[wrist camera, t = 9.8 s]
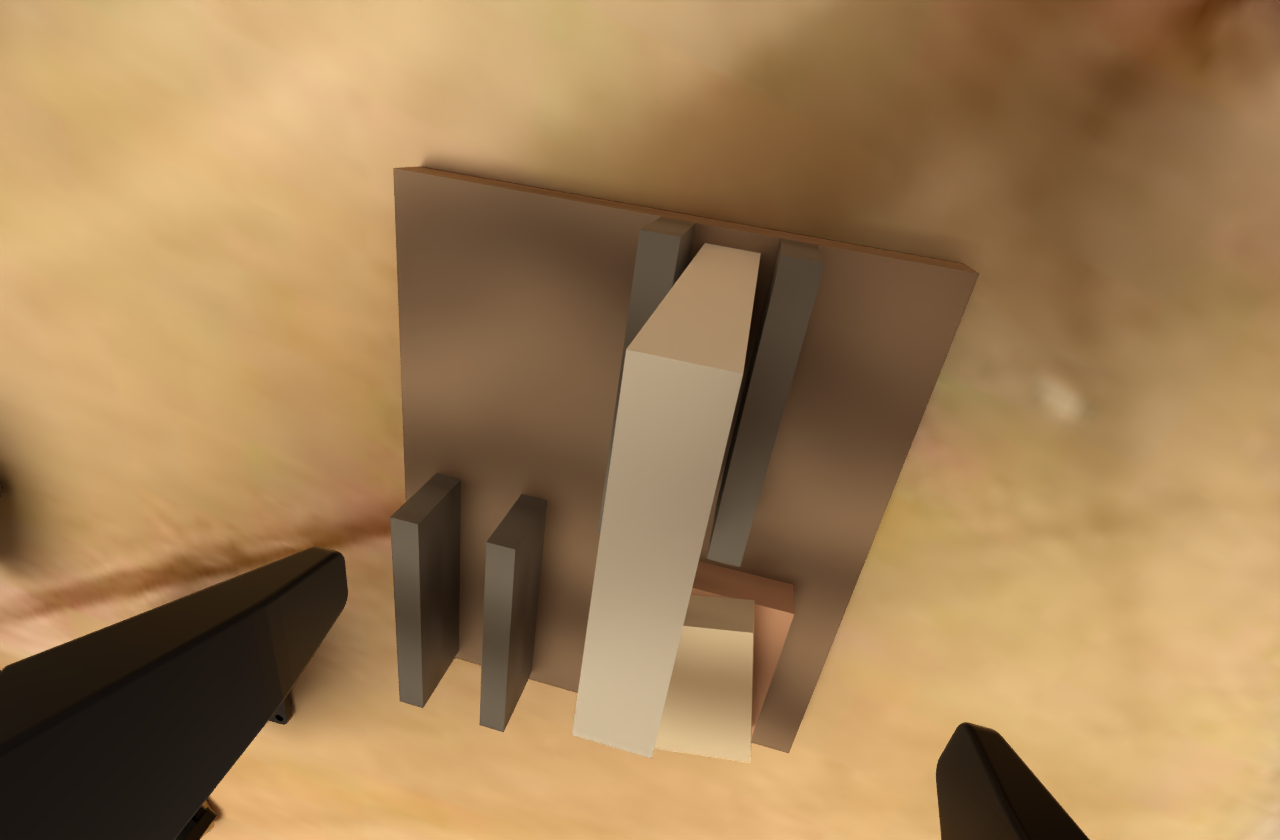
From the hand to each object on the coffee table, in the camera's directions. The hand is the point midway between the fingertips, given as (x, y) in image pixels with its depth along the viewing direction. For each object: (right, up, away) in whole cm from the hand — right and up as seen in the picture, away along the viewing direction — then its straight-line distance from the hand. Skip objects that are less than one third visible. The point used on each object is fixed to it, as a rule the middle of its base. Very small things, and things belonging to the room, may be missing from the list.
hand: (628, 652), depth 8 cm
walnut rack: (0, +1, +14) cm, 14 cm away
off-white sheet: (+2, +5, +10) cm, 11 cm away
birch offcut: (+2, -5, +13) cm, 14 cm away
